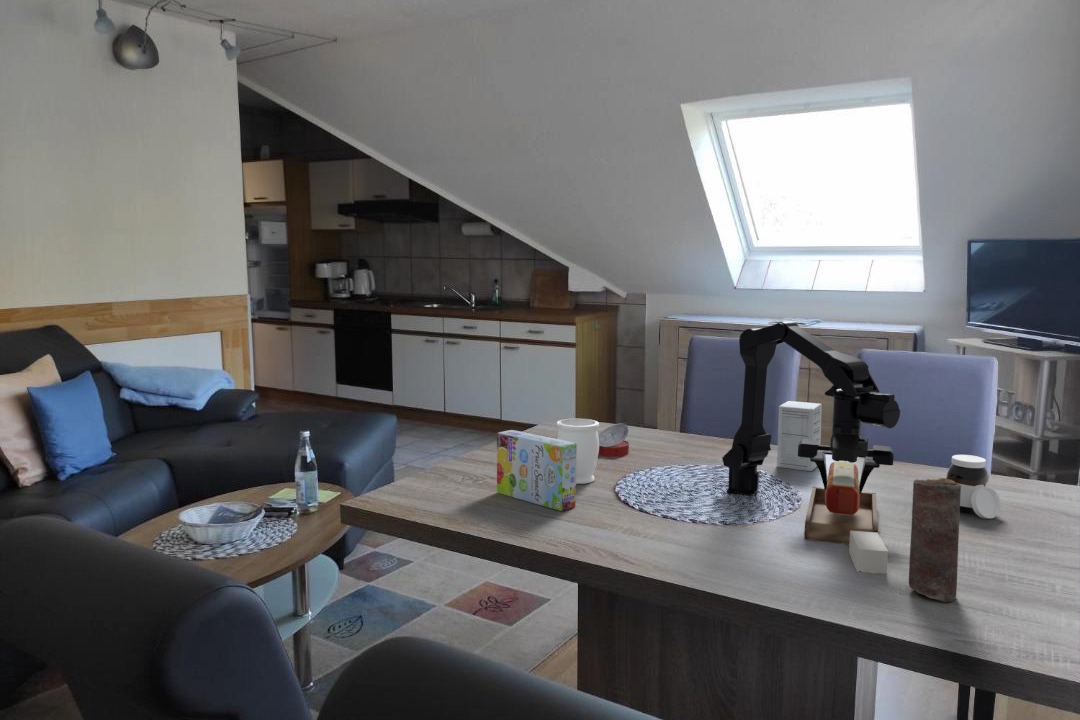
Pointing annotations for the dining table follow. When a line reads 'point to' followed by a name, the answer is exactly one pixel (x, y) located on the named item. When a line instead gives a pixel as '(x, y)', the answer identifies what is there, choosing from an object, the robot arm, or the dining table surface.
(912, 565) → the weathered brick
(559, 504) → the snack box
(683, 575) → the dining table surface
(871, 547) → the small white box
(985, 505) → the spread jar
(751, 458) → the robot arm
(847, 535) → the tray
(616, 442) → the canned food
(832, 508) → the snack package
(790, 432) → the supplement box
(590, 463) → the jar
